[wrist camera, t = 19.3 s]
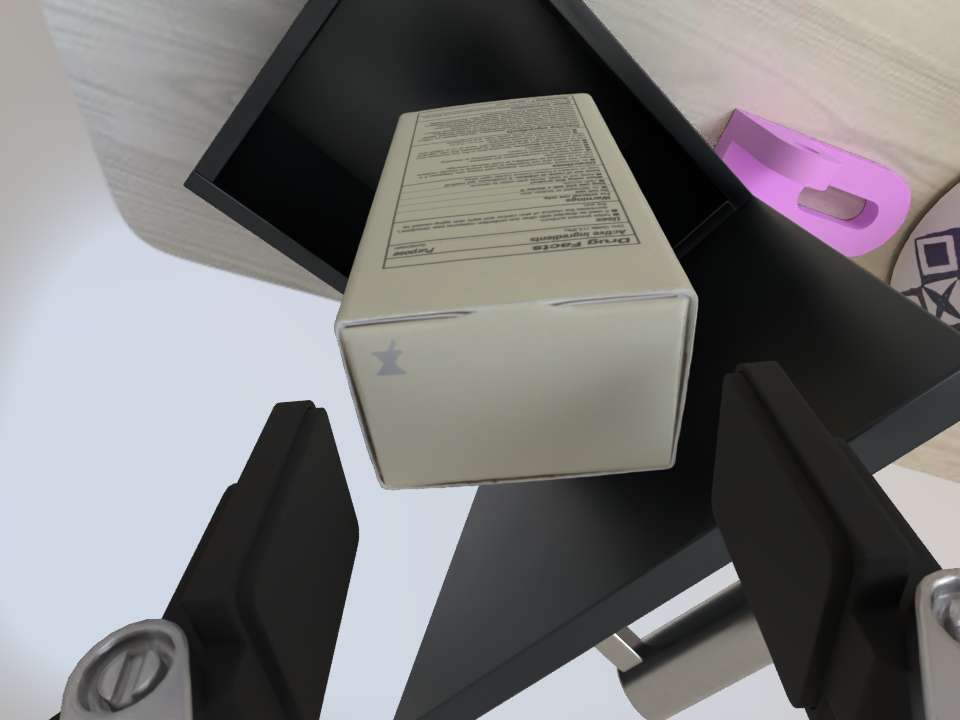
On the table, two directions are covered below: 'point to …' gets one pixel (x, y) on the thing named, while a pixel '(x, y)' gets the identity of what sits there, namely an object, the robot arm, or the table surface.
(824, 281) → the bin lid
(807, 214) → the bracket
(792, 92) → the table surface
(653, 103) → the black storage bin
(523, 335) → the cosmetic box
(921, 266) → the planter
